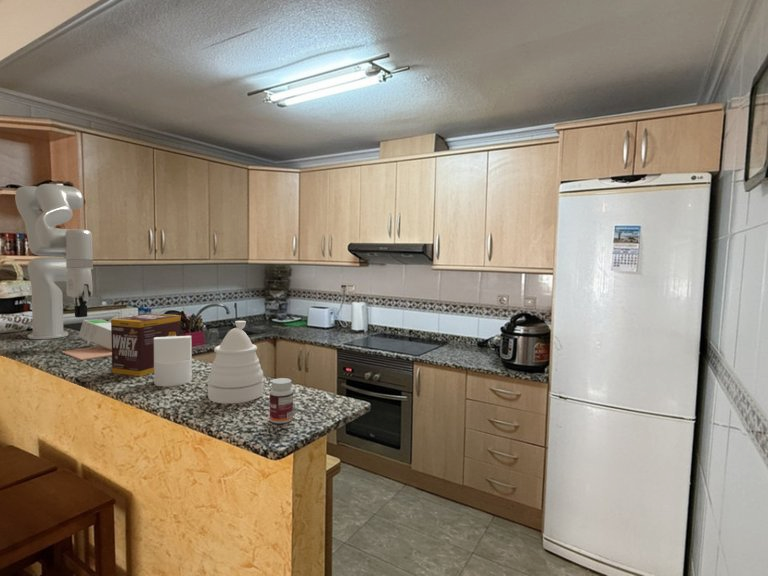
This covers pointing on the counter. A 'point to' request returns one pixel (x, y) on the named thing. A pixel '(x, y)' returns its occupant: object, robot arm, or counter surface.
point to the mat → (89, 352)
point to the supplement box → (139, 341)
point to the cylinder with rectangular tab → (172, 360)
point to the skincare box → (97, 332)
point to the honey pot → (235, 369)
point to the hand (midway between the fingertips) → (81, 316)
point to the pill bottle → (281, 401)
